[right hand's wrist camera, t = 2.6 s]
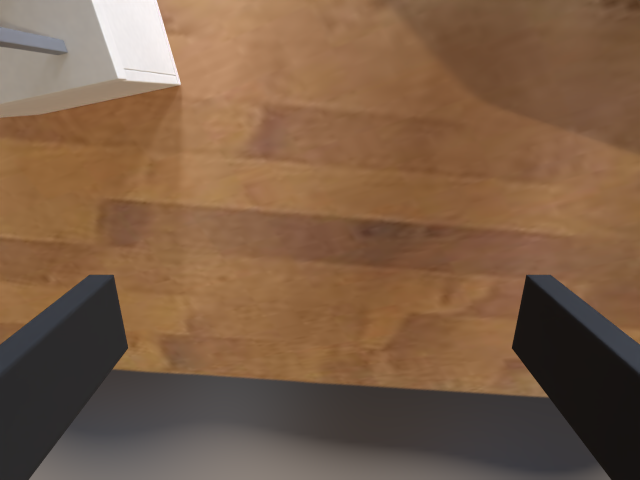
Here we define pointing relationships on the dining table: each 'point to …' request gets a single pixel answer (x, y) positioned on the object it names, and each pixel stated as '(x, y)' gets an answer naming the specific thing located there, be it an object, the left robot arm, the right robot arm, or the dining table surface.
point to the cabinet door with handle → (54, 48)
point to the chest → (136, 56)
